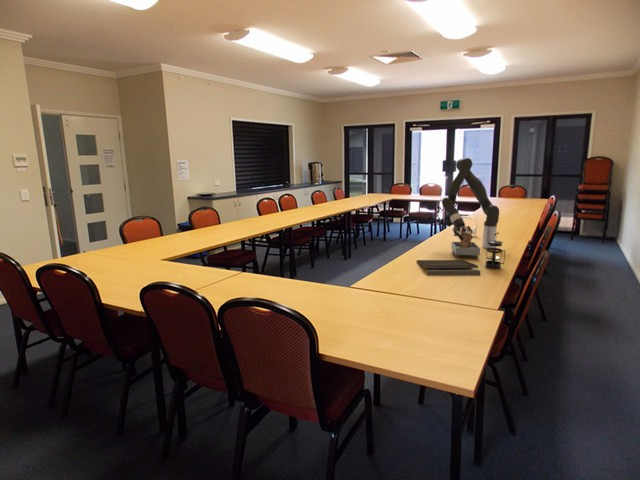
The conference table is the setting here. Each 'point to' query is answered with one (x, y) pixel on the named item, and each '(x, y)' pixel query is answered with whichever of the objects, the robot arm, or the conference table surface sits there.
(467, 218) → the headset
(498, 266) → the french press
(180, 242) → the conference table surface
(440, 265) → the shutter
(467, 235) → the walnut block
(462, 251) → the shallow gray tray
